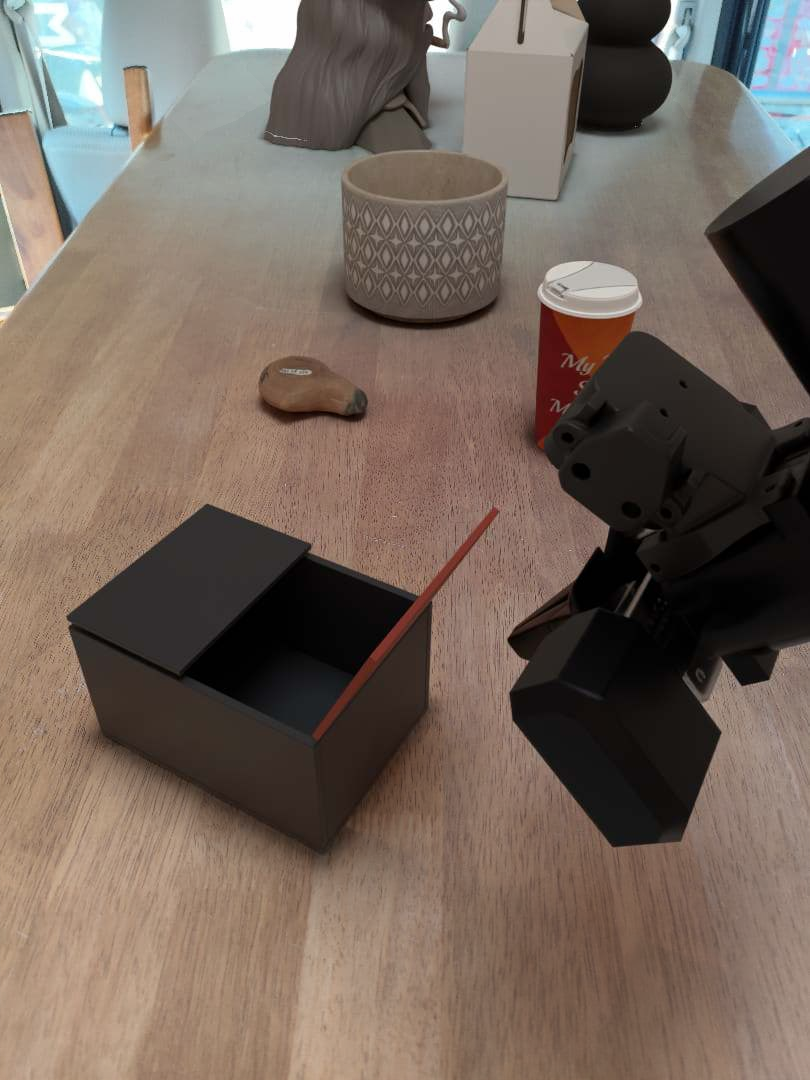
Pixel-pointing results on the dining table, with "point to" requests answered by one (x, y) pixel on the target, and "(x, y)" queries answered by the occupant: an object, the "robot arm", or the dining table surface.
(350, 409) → the oil lamp
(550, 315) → the paper cup
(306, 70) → the bust
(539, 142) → the cake box
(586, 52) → the vase
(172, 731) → the black flip box
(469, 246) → the planter
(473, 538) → the lid
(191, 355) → the dining table surface
